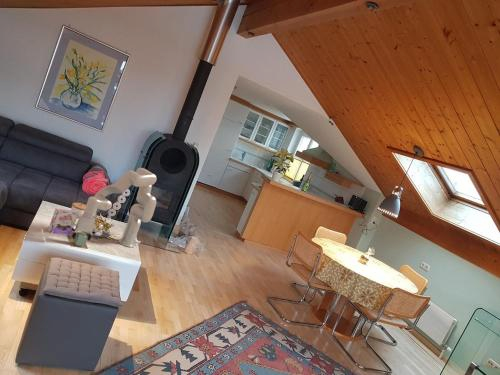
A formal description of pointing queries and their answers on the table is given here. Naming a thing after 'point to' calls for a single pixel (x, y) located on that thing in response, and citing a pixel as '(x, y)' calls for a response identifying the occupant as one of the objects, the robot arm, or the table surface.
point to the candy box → (62, 221)
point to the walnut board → (74, 242)
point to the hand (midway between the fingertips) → (80, 238)
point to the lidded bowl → (78, 208)
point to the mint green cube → (80, 239)
